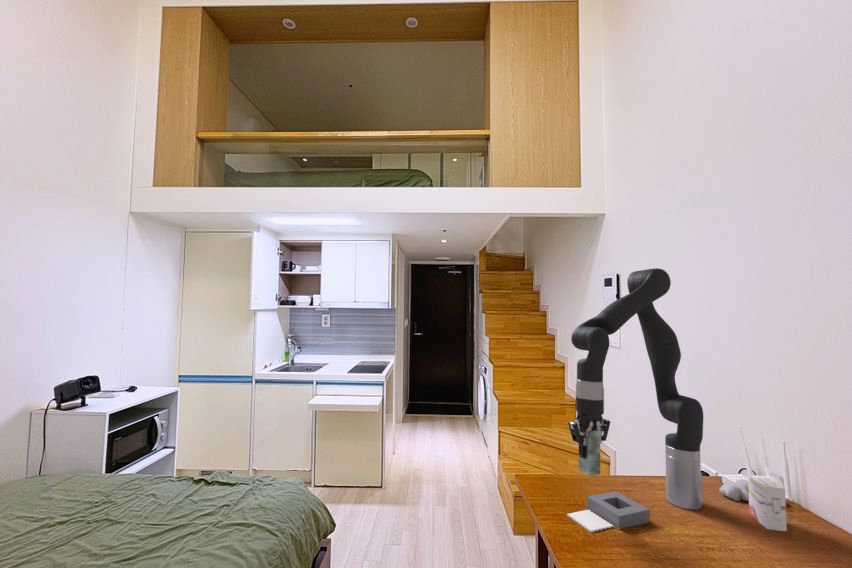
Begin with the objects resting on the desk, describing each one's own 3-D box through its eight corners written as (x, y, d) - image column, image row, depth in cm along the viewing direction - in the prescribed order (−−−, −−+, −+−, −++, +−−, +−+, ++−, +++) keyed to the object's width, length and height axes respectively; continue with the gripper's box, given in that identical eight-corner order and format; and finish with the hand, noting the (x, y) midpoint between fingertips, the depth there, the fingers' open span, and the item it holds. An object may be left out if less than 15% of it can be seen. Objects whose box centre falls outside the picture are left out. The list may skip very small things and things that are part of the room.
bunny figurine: (711, 479, 130) (753, 474, 131) (714, 494, 129) (755, 489, 130) (736, 492, 120) (780, 486, 121) (738, 508, 120) (782, 503, 121)
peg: (589, 468, 111) (589, 426, 112) (600, 474, 107) (600, 430, 108) (578, 470, 110) (579, 427, 111) (589, 475, 106) (589, 431, 107)
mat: (588, 511, 113) (588, 509, 113) (613, 527, 105) (613, 525, 105) (567, 515, 110) (567, 513, 110) (591, 532, 102) (591, 530, 102)
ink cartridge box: (747, 514, 114) (746, 463, 115) (767, 516, 113) (765, 465, 114) (767, 529, 106) (765, 475, 107) (788, 532, 105) (785, 477, 106)
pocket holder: (615, 502, 119) (615, 491, 119) (649, 522, 108) (649, 509, 108) (586, 508, 114) (586, 496, 115) (619, 529, 104) (619, 516, 104)
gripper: (598, 392, 116) (598, 450, 115) (561, 394, 111) (560, 454, 110) (618, 397, 109) (618, 459, 108) (580, 400, 104) (579, 464, 103)
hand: (589, 456), depth 109 cm, fingers closed on peg, 4 cm apart
